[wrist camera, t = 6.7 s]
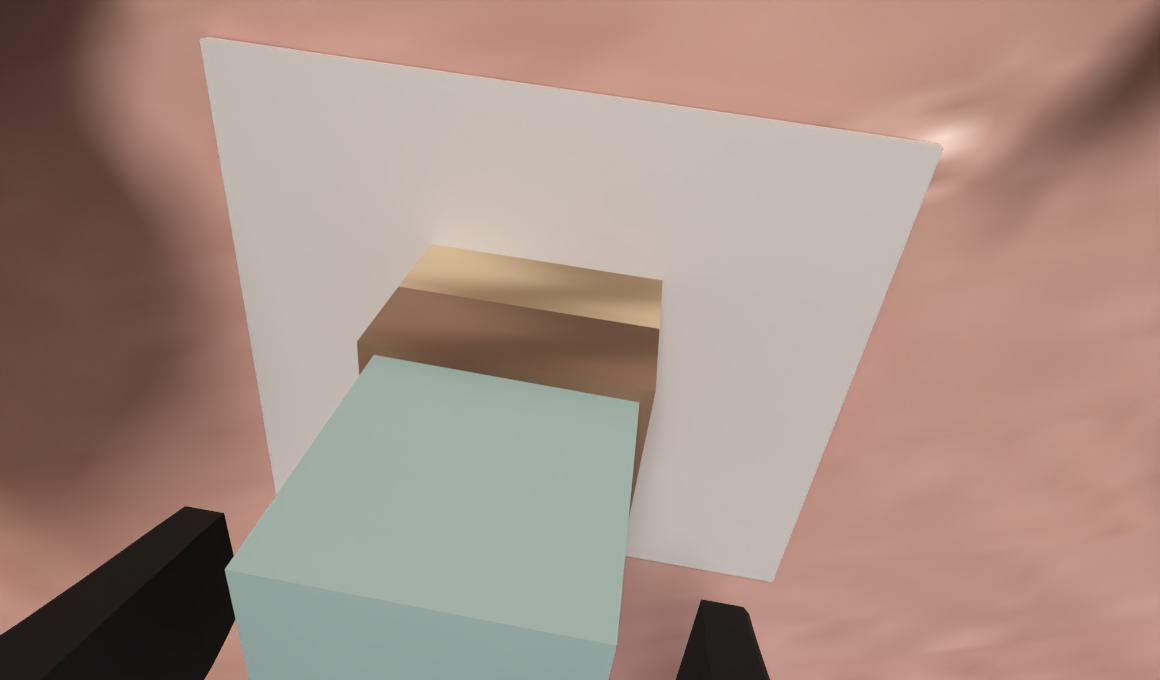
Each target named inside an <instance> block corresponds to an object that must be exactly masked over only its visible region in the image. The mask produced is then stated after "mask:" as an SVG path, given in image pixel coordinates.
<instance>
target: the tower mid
mask: <svg viewBox="0 0 1160 680" xmlns="http://www.w3.org/2000/svg"><path fill="white" fill-rule="evenodd" d="M658 345H659V329H658V328H652V327H645V326H639V325H633V324H627V323H621V322H614V321H608V320H602V319H596V318H590V317H584V316H578V315H571V314H565V313H559V312H553V311H547V310H540V309H534V308H528V307H522V306H516V305H510V304H503V303H497V302H491V301H485V300H479V299H473V298H466V297H460V296H454V295H448V294H442V293H435V292H429V291H423V290H417V289H411V288H405V287H398V288H397V289H396V290H395V292H394V293H393V294H392V296H391V297H390V298H389V300H388V301H387V302H386V304H385V305H384V306H383V308H382V309H381V310H380V312H379V313H378V314H377V316H376V317H375V318H374V320H373V321H372V322H371V324H370V325H369V326H368V328H367V329H366V330H365V332H364V333H363V334H362V335H361V337H360V338H359V339H358V341H357V352H358V366H359V375H360V374H361V372H362V371H363V370H364V368H365V367H366V365H367V364H368V362H369V361H370V360H371V358H372V357H373V355H377V356H383V357H389V358H394V359H400V360H405V361H411V362H417V363H422V364H428V365H433V366H439V367H444V368H450V369H456V370H461V371H467V372H472V373H478V374H484V375H489V376H495V377H500V378H506V379H511V380H517V381H523V382H528V383H534V384H539V385H545V386H550V387H556V388H562V389H567V390H573V391H578V392H584V393H590V394H595V395H601V396H606V397H612V398H617V399H623V400H629V401H634V402H640V403H639V414H638V424H637V435H636V446H635V457H634V467H633V478H632V489H631V499H630V510H629V515H630V511H631V506H632V501H633V496H634V492H635V487H636V482H637V477H638V473H639V468H640V463H641V458H642V454H643V449H644V444H645V439H646V435H647V430H648V425H649V420H650V416H651V411H652V406H653V401H654V397H655V392H656V377H657V361H658Z"/></svg>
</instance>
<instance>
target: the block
mask: <svg viewBox="0 0 1160 680" xmlns="http://www.w3.org/2000/svg"><path fill="white" fill-rule="evenodd" d="M639 403H640V402H634V401H629V400H623V399H617V398H612V397H606V396H601V395H595V394H590V393H584V392H578V391H573V390H567V389H562V388H556V387H550V386H545V385H539V384H534V383H528V382H523V381H517V380H511V379H506V378H500V377H495V376H489V375H484V374H478V373H472V372H467V371H461V370H456V369H450V368H444V367H439V366H433V365H428V364H422V363H417V362H411V361H405V360H400V359H394V358H389V357H383V356H377V355H373V357H372V358H371V360H370V361H369V362H368V364H367V365H366V367H365V368H364V370H363V371H362V372H361V374H360V375H359V377H358V378H357V380H356V381H355V383H354V384H353V385H352V387H351V388H350V390H349V391H348V393H347V394H346V396H345V397H344V398H343V400H342V401H341V403H340V404H339V406H338V407H337V408H336V410H335V411H334V413H333V414H332V416H331V417H330V419H329V420H328V421H327V423H326V424H325V426H324V427H323V429H322V430H321V432H320V433H319V434H318V436H317V437H316V439H315V440H314V442H313V443H312V444H311V446H310V447H309V449H308V450H307V452H306V453H305V455H304V456H303V457H302V459H301V460H300V462H299V463H298V465H297V466H296V467H295V469H294V470H293V472H292V473H291V475H290V476H289V478H288V479H287V480H286V482H285V483H284V485H283V486H282V488H281V489H280V491H279V492H278V493H277V495H276V496H275V498H274V499H273V501H272V502H271V503H270V505H269V506H268V508H267V509H266V511H265V512H264V514H263V515H262V516H261V518H260V519H259V521H258V522H257V524H256V525H255V527H254V528H253V529H252V531H251V532H250V534H249V535H248V537H247V538H246V539H245V541H244V542H243V544H242V545H241V547H240V548H239V550H238V551H237V552H236V554H235V555H234V557H233V558H232V560H231V561H230V563H229V564H228V565H227V567H226V568H225V574H226V578H227V583H228V587H229V592H230V596H231V601H232V605H233V610H234V614H235V619H236V623H237V628H238V632H239V637H240V641H241V646H242V650H243V655H244V659H245V664H246V668H247V673H248V677H249V680H608V679H609V675H610V671H611V667H612V663H613V659H614V655H615V651H616V647H617V639H618V628H619V617H620V607H621V596H622V585H623V574H624V564H625V553H626V542H627V532H628V521H629V510H630V499H631V489H632V478H633V467H634V457H635V446H636V435H637V424H638V414H639Z"/></svg>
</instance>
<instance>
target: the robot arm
mask: <svg viewBox="0 0 1160 680" xmlns="http://www.w3.org/2000/svg"><path fill="white" fill-rule="evenodd" d="M233 557H234V555H233V551H232V547H231V542H230V538H229V533H228V529H227V525H226V520H225V516H224V513H220V512H214V511H209V510H203V509H197V508H192V507H186V506H185V507H184V508H182V509H181V510H179V511H178V512H176V513H175V514H173V515H172V516H171V517H169V518H168V519H166V520H165V521H163V522H162V523H160V524H159V525H158V526H156V527H155V528H153V529H152V530H151V531H149V532H148V533H146V534H145V535H144V536H142V537H141V538H139V539H138V540H137V541H135V542H134V543H132V544H131V545H130V546H128V547H127V548H125V549H124V550H123V551H121V552H120V553H118V554H117V555H116V556H114V557H113V558H111V559H110V560H109V561H107V562H106V563H104V564H103V565H102V566H100V567H99V568H97V569H96V570H95V571H93V572H92V573H90V574H89V575H87V576H86V577H85V578H83V579H82V580H80V581H79V582H78V583H76V584H75V585H73V586H72V587H70V588H69V589H67V590H66V591H65V592H63V593H62V594H60V595H59V596H57V597H56V598H54V599H53V600H52V601H50V602H49V603H47V604H46V605H44V606H43V607H41V608H40V609H39V610H37V611H36V612H34V613H33V614H31V615H30V616H28V617H27V618H26V619H24V620H23V621H21V622H20V623H18V624H17V625H15V626H14V627H12V628H11V629H9V630H8V631H6V632H5V633H3V634H2V635H0V680H204V679H205V677H206V676H207V674H208V672H209V671H210V669H211V667H212V665H213V663H214V661H215V659H216V657H217V656H218V654H219V652H220V650H221V648H222V646H223V644H224V642H225V640H226V638H227V636H228V634H229V631H230V629H231V627H232V625H233V623H234V621H235V614H234V610H233V605H232V601H231V596H230V592H229V587H228V583H227V578H226V574H225V568H226V567H227V565H228V564H229V563H230V561H231V560H232V558H233ZM676 680H770V678H769V676H768V673H767V670H766V667H765V664H764V661H763V658H762V655H761V652H760V649H759V646H758V643H757V640H756V636H755V633H754V630H753V627H752V623H751V620H750V616H749V613H748V612H747V611H746V610H745V608H744V607H740V606H735V605H729V604H723V603H718V602H712V601H707V600H701V602H700V605H699V608H698V612H697V615H696V618H695V621H694V624H693V627H692V630H691V634H690V637H689V640H688V643H687V646H686V649H685V653H684V656H683V659H682V662H681V665H680V668H679V671H678V675H677V678H676Z"/></svg>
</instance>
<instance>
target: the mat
mask: <svg viewBox="0 0 1160 680" xmlns="http://www.w3.org/2000/svg"><path fill="white" fill-rule="evenodd" d="M199 40H200V45H201V51H202V57H203V63H204V69H205V75H206V81H207V87H208V93H209V99H210V105H211V111H212V117H213V123H214V129H215V135H216V140H217V146H218V152H219V158H220V164H221V170H222V176H223V182H224V188H225V194H226V200H227V206H228V212H229V218H230V224H231V230H232V235H233V241H234V247H235V253H236V259H237V265H238V271H239V277H240V283H241V289H242V295H243V301H244V307H245V313H246V319H247V325H248V330H249V336H250V342H251V348H252V354H253V360H254V366H255V372H256V378H257V384H258V390H259V396H260V402H261V408H262V414H263V419H264V425H265V431H266V437H267V443H268V449H269V455H270V461H271V467H272V473H273V479H274V485H275V491H276V494H277V493H278V492H279V491H280V489H281V488H282V486H283V485H284V483H285V482H286V480H287V479H288V478H289V476H290V475H291V473H292V472H293V470H294V469H295V467H296V466H297V465H298V463H299V462H300V460H301V459H302V457H303V456H304V455H305V453H306V452H307V450H308V449H309V447H310V446H311V444H312V443H313V442H314V440H315V439H316V437H317V436H318V434H319V433H320V432H321V430H322V429H323V427H324V426H325V424H326V423H327V421H328V420H329V419H330V417H331V416H332V414H333V413H334V411H335V410H336V408H337V407H338V406H339V404H340V403H341V401H342V400H343V398H344V397H345V396H346V394H347V393H348V391H349V390H350V388H351V387H352V385H353V384H354V383H355V381H356V380H357V378H358V377H359V366H358V352H357V341H358V339H359V338H360V337H361V335H362V334H363V333H364V332H365V330H366V329H367V328H368V326H369V325H370V324H371V322H372V321H373V320H374V318H375V317H376V316H377V314H378V313H379V312H380V310H381V309H382V308H383V306H384V305H385V304H386V302H387V301H388V300H389V298H390V297H391V296H392V294H393V293H394V292H395V290H396V289H397V288H398V286H399V285H400V284H401V282H402V281H403V280H404V278H405V277H406V276H407V275H408V273H409V272H410V271H411V269H412V268H413V267H414V265H415V264H416V263H417V261H418V260H419V259H420V257H421V256H422V255H423V253H424V252H425V251H426V249H427V248H428V247H429V245H430V244H436V245H442V246H448V247H455V248H461V249H467V250H473V251H480V252H486V253H492V254H499V255H505V256H511V257H518V258H524V259H530V260H537V261H543V262H549V263H556V264H562V265H568V266H574V267H581V268H587V269H593V270H600V271H606V272H612V273H619V274H625V275H631V276H638V277H644V278H650V279H656V280H663V281H662V297H661V313H660V329H659V345H658V361H657V377H656V392H655V397H654V401H653V406H652V411H651V416H650V420H649V425H648V430H647V435H646V439H645V444H644V449H643V454H642V458H641V463H640V468H639V473H638V477H637V482H636V487H635V492H634V496H633V501H632V506H631V511H630V515H629V521H628V532H627V542H626V553H625V556H628V557H634V558H640V559H645V560H651V561H657V562H662V563H668V564H673V565H679V566H685V567H690V568H696V569H701V570H707V571H713V572H718V573H724V574H729V575H735V576H741V577H746V578H752V579H757V580H763V581H769V582H773V579H774V577H775V574H776V572H777V569H778V567H779V564H780V562H781V559H782V556H783V554H784V551H785V549H786V546H787V544H788V541H789V539H790V536H791V534H792V531H793V529H794V526H795V523H796V521H797V518H798V516H799V513H800V511H801V508H802V506H803V503H804V501H805V498H806V496H807V493H808V490H809V488H810V485H811V483H812V480H813V478H814V475H815V473H816V470H817V468H818V465H819V463H820V460H821V457H822V455H823V452H824V450H825V447H826V445H827V442H828V440H829V437H830V435H831V432H832V430H833V427H834V424H835V422H836V419H837V417H838V414H839V412H840V409H841V407H842V404H843V402H844V399H845V397H846V394H847V392H848V389H849V386H850V384H851V381H852V379H853V376H854V374H855V371H856V369H857V366H858V364H859V361H860V359H861V356H862V353H863V351H864V348H865V346H866V343H867V341H868V338H869V336H870V333H871V331H872V328H873V326H874V323H875V320H876V318H877V315H878V313H879V310H880V308H881V305H882V303H883V300H884V298H885V295H886V293H887V290H888V287H889V285H890V282H891V280H892V277H893V275H894V272H895V270H896V267H897V265H898V262H899V260H900V257H901V254H902V252H903V249H904V247H905V244H906V242H907V239H908V237H909V234H910V232H911V229H912V227H913V224H914V221H915V219H916V216H917V214H918V211H919V209H920V206H921V204H922V201H923V199H924V196H925V194H926V191H927V188H928V186H929V183H930V181H931V178H932V176H933V173H934V171H935V168H936V166H937V163H938V161H939V158H940V155H941V153H942V150H943V147H942V146H940V145H939V144H938V143H932V142H925V141H918V140H911V139H904V138H897V137H891V136H884V135H877V134H870V133H863V132H856V131H850V130H843V129H836V128H829V127H822V126H815V125H808V124H802V123H795V122H788V121H781V120H774V119H767V118H761V117H754V116H747V115H740V114H733V113H726V112H719V111H713V110H706V109H699V108H692V107H685V106H678V105H672V104H665V103H658V102H651V101H644V100H637V99H630V98H624V97H617V96H610V95H603V94H596V93H589V92H583V91H576V90H569V89H562V88H555V87H548V86H541V85H535V84H528V83H521V82H514V81H507V80H500V79H494V78H487V77H480V76H473V75H466V74H459V73H453V72H446V71H439V70H432V69H425V68H418V67H411V66H405V65H398V64H391V63H384V62H377V61H370V60H364V59H357V58H350V57H343V56H336V55H329V54H322V53H316V52H309V51H302V50H295V49H288V48H281V47H275V46H268V45H261V44H254V43H247V42H240V41H233V40H227V39H220V38H213V37H206V38H203V39H199Z"/></svg>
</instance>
